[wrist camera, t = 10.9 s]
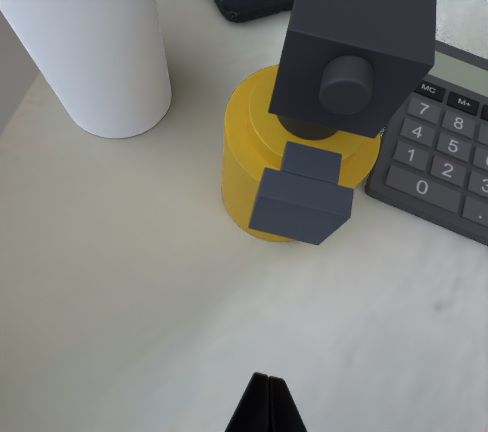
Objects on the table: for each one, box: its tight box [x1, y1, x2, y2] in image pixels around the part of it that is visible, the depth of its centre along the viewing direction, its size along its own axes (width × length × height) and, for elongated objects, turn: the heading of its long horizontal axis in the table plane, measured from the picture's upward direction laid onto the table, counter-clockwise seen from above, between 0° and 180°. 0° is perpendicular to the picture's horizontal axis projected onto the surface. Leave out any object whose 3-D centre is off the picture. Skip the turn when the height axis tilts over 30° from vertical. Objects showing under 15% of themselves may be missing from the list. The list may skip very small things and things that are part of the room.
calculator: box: [365, 40, 488, 246], centre depth 23 cm, size 12×1×15 cm
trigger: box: [248, 141, 354, 245], centre depth 11 cm, size 2×3×3 cm
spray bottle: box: [221, 0, 436, 242], centre depth 15 cm, size 7×7×14 cm
